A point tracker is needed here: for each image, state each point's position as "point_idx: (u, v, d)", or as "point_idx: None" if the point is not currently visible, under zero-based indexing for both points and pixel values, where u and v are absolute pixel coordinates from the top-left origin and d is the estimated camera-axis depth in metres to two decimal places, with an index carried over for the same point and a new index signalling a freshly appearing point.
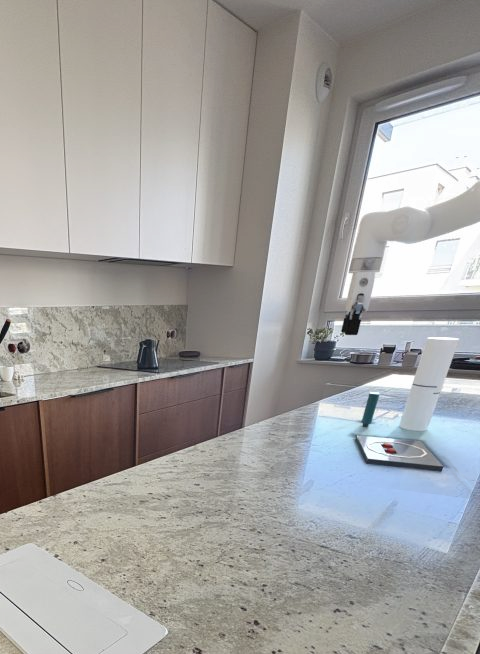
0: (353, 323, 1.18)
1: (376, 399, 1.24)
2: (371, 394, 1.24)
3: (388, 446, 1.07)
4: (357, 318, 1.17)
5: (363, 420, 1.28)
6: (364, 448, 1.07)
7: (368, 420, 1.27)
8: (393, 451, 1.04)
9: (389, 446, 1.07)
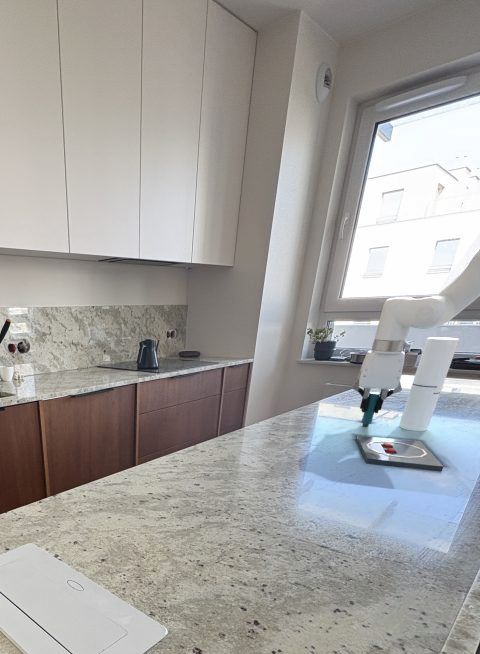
0: None
1: (376, 399, 1.24)
2: (371, 394, 1.24)
3: (388, 446, 1.07)
4: None
5: (363, 420, 1.28)
6: (364, 448, 1.07)
7: (368, 420, 1.27)
8: (393, 451, 1.04)
9: (389, 446, 1.07)
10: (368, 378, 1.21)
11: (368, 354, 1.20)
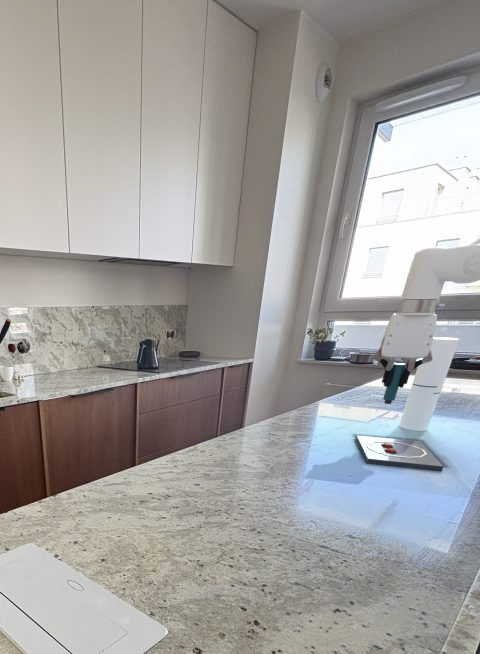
0: None
1: (401, 371, 1.06)
2: (396, 365, 1.07)
3: (388, 446, 1.07)
4: None
5: (385, 396, 1.10)
6: (364, 448, 1.07)
7: (391, 396, 1.09)
8: (393, 451, 1.04)
9: (389, 446, 1.07)
10: (392, 346, 1.04)
11: (393, 317, 1.03)
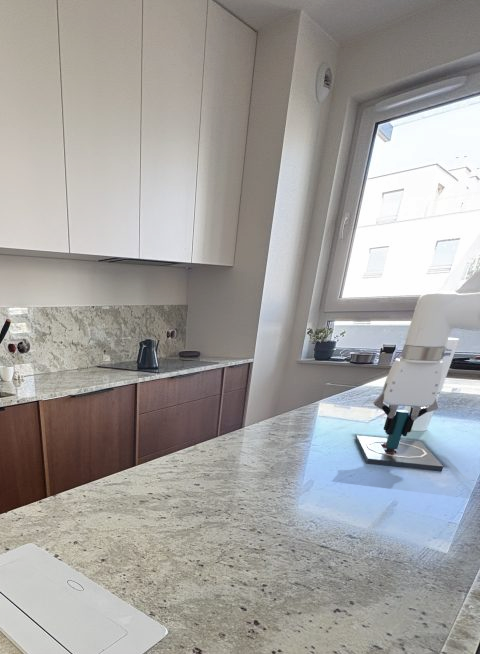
0: None
1: (405, 419, 1.00)
2: (399, 413, 1.00)
3: None
4: None
5: (388, 444, 1.03)
6: (364, 448, 1.07)
7: (394, 444, 1.02)
8: None
9: None
10: (395, 393, 0.97)
11: (396, 363, 0.96)
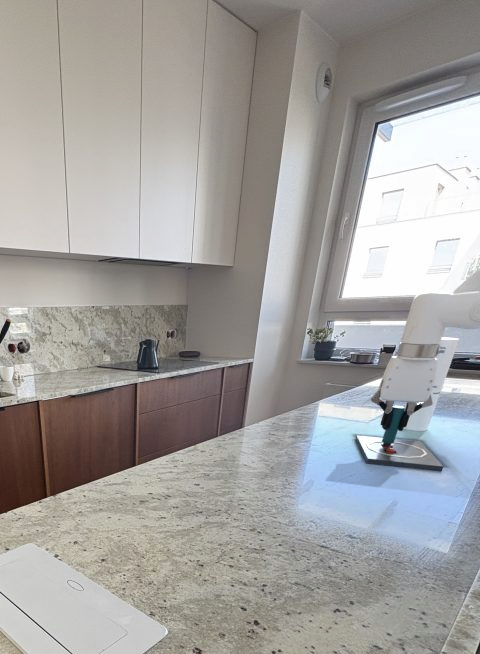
0: None
1: (401, 414, 1.03)
2: (395, 408, 1.03)
3: None
4: None
5: (384, 439, 1.07)
6: (364, 448, 1.07)
7: (390, 439, 1.06)
8: (393, 452, 1.04)
9: None
10: (391, 389, 1.01)
11: (392, 360, 0.99)
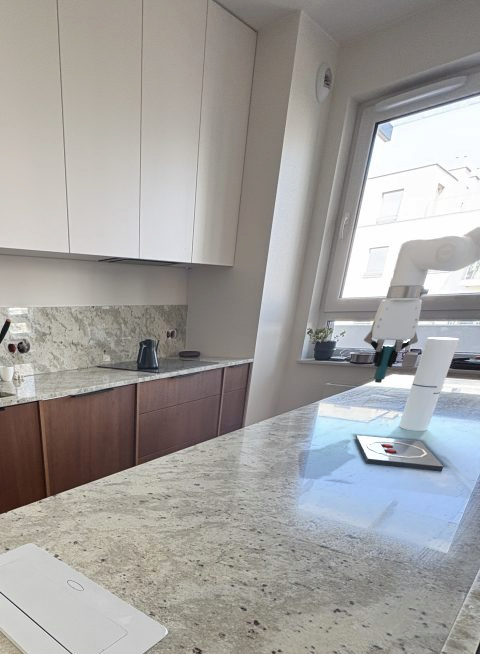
0: None
1: (390, 352, 1.17)
2: (385, 346, 1.17)
3: (388, 446, 1.07)
4: None
5: (376, 375, 1.21)
6: (364, 448, 1.07)
7: (381, 375, 1.20)
8: (393, 452, 1.04)
9: (389, 446, 1.07)
10: (382, 328, 1.15)
11: (382, 302, 1.13)
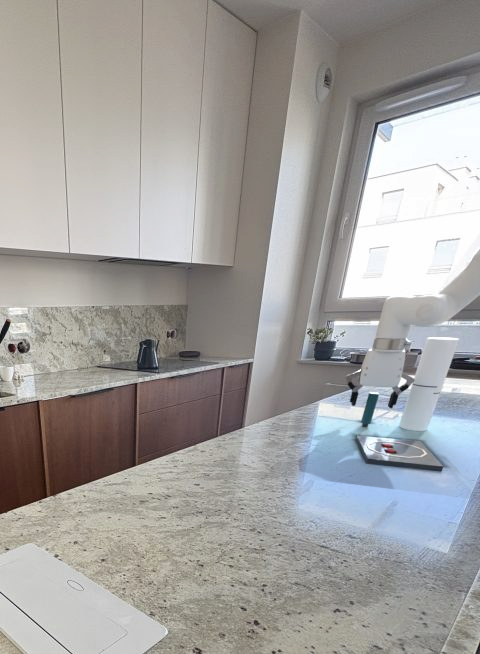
0: None
1: (376, 399, 1.24)
2: (371, 394, 1.24)
3: (388, 446, 1.07)
4: None
5: (363, 420, 1.28)
6: (364, 448, 1.07)
7: (368, 420, 1.27)
8: (393, 452, 1.04)
9: (389, 446, 1.07)
10: (368, 376, 1.21)
11: (369, 352, 1.20)
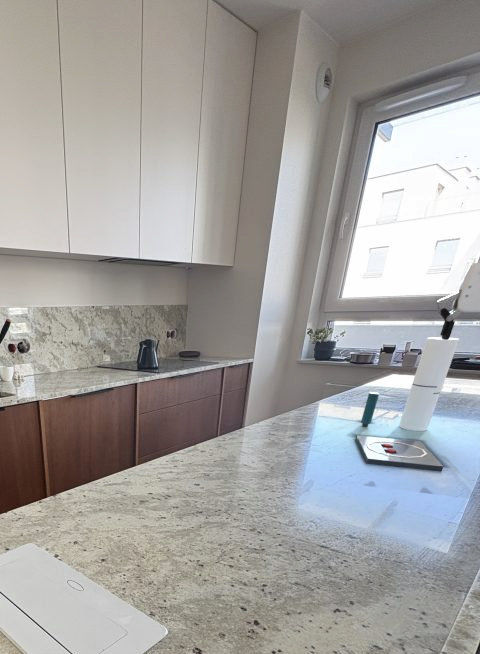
0: None
1: (376, 399, 1.24)
2: (371, 394, 1.24)
3: (388, 446, 1.07)
4: None
5: (363, 420, 1.28)
6: (364, 448, 1.07)
7: (368, 420, 1.27)
8: (393, 452, 1.04)
9: (389, 446, 1.07)
10: (471, 298, 0.94)
11: (473, 266, 0.93)
